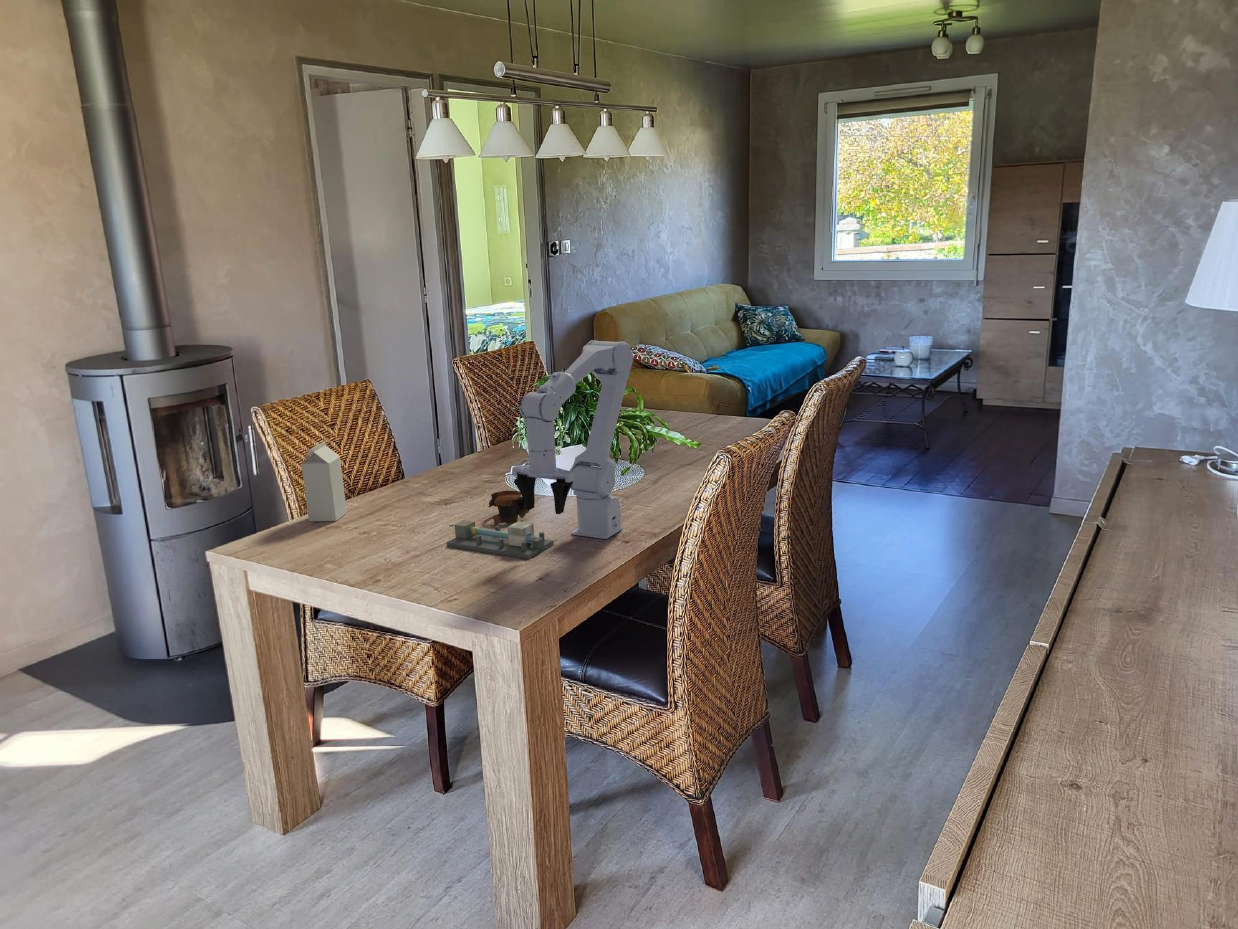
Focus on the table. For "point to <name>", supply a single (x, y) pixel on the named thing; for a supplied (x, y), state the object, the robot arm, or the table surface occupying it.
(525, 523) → the sleeve
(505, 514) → the pottery mug
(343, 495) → the milk carton
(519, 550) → the miniature lathe model
